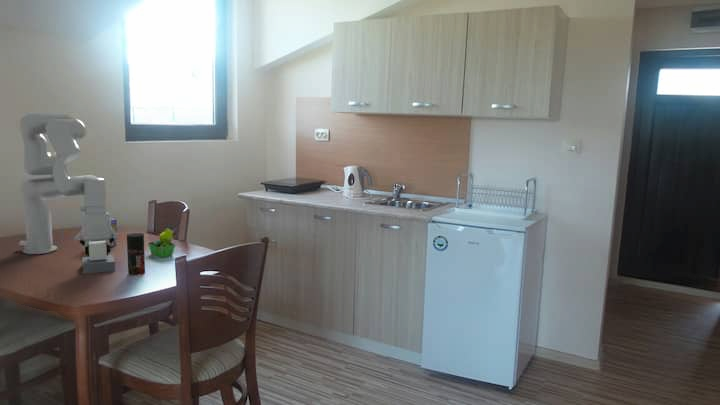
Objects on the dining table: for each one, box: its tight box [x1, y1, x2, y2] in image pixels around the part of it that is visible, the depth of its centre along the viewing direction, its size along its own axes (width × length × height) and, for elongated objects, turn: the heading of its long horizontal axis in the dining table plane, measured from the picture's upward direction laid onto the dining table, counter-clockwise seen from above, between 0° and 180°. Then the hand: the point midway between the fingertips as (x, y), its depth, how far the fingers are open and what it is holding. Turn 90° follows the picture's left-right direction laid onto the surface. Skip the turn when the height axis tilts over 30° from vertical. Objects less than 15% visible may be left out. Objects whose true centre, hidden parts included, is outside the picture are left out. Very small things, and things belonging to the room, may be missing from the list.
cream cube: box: [88, 241, 107, 261], centre depth 205 cm, size 6×6×6 cm
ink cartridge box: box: [91, 217, 118, 247], centre depth 238 cm, size 10×6×14 cm, turn 158°
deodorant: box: [126, 232, 146, 276], centre depth 200 cm, size 6×6×15 cm
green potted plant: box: [147, 228, 176, 259], centre depth 227 cm, size 11×9×11 cm
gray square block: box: [81, 254, 116, 275], centre depth 206 cm, size 11×11×4 cm
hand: (97, 254), depth 205 cm, fingers closed on cream cube, 5 cm apart
